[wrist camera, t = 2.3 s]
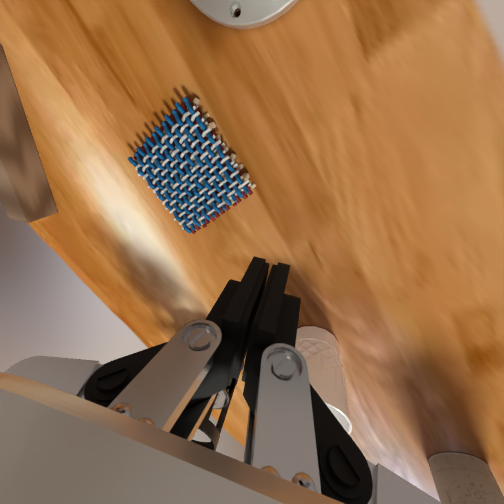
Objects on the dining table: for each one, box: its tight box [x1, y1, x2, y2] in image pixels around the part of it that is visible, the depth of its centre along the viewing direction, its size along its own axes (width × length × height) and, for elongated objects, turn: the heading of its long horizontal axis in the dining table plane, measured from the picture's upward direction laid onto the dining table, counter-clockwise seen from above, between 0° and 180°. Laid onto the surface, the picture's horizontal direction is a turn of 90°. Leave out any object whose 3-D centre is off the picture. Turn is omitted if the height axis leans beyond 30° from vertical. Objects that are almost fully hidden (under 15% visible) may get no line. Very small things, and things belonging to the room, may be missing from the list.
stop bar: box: [0, 46, 58, 223], centre depth 26 cm, size 18×3×4 cm, turn 173°
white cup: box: [295, 326, 352, 434], centre depth 28 cm, size 8×8×10 cm
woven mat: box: [128, 96, 256, 234], centre depth 24 cm, size 10×11×2 cm
